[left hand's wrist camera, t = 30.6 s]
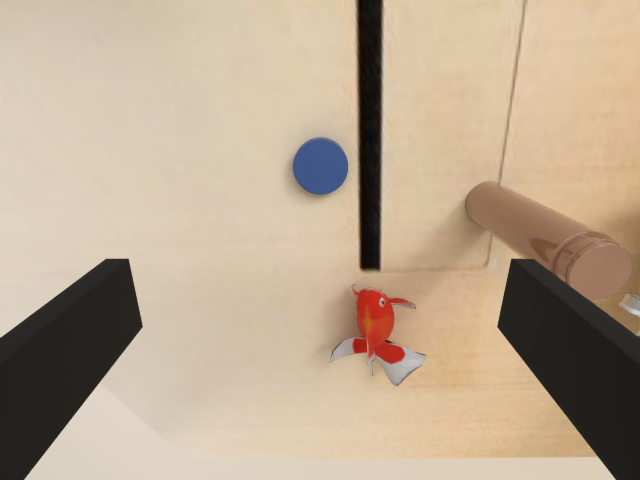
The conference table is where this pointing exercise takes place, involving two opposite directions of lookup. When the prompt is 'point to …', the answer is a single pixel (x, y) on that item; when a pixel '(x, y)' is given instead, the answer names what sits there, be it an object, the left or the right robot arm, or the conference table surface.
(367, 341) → the fish
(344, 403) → the conference table surface
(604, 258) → the jar
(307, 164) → the lid
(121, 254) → the conference table surface
